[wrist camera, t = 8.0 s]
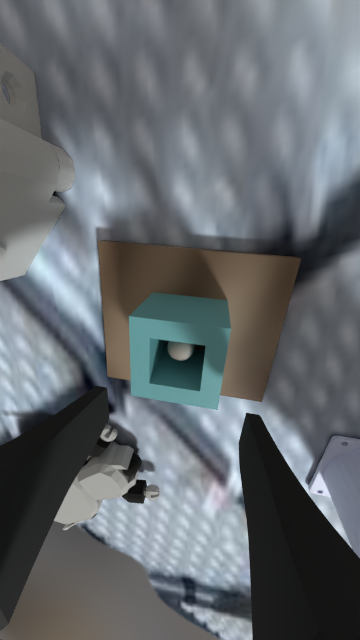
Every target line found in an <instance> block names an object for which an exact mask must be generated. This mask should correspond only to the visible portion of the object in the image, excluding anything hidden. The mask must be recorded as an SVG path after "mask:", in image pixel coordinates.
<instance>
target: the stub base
mask: <svg viewBox="0 0 360 640" xmlns="http://www.w3.org/2000/svg"><path fill="white" fill-rule="evenodd" d="M98 250H99V264H100V277H101V291H102V304H103V318H104V331H105V345H106V358H107V372H108V377H114V378H120V379H126V380H131V369H130V337H129V316H130V315H131V314H132V313H133V312H134V311H135V310H136V309H137V308H138V307H139V306H140V305H141V304H142V303H143V302H144V301H145V300H146V299H147V298H148V297H149V296H150V295H151V294H152V293H153V292H155V293H165V294H174V295H184V296H193V297H202V298H212V299H221V300H228V307H229V315H230V324H231V332H230V338H229V344H228V350H227V356H226V362H225V368H224V374H223V380H222V386H221V392H220V395H223V396H229V397H235V398H241V399H247V400H253V401H259V402H262V399H263V396H264V392H265V389H266V385H267V381H268V378H269V374H270V370H271V367H272V363H273V359H274V356H275V352H276V349H277V345H278V341H279V338H280V334H281V330H282V327H283V323H284V320H285V316H286V312H287V309H288V305H289V301H290V298H291V294H292V290H293V287H294V283H295V280H296V276H297V272H298V269H299V265H300V261H301V259H300V258H298V257H291V256H280V255H268V254H257V253H245V252H233V251H222V250H210V249H198V248H187V247H175V246H164V245H152V244H140V243H129V242H117V241H105V240H104V241H98ZM166 345H168V352H169V354H170V356H171V357H172V358H174V359H175V360H179V361H183V360H186V359H188V358H190V357H191V356H192V354H193V352H194V349H200V350H205V345H197V344H190V343H182V342H175V341H167V344H166Z"/></svg>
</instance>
